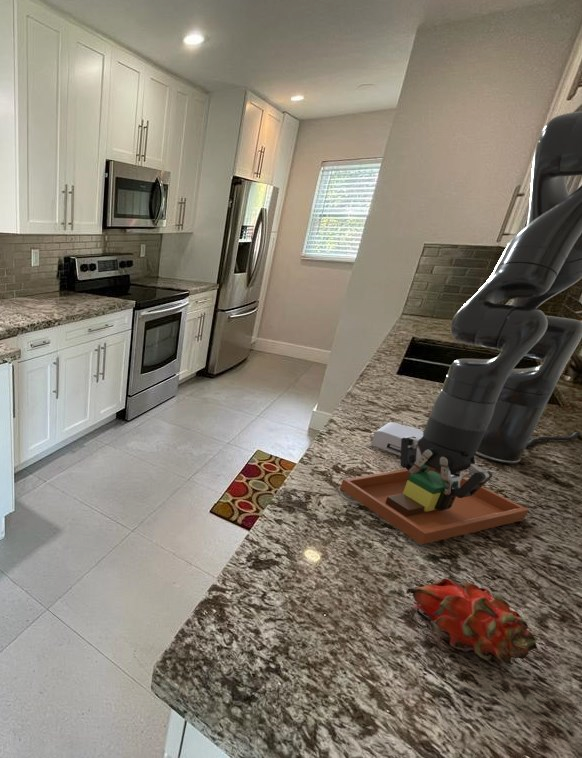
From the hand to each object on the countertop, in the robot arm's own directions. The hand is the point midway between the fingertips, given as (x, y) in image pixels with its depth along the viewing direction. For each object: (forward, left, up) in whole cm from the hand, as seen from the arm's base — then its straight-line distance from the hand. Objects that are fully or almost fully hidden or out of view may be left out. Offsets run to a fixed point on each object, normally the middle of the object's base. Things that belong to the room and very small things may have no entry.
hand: (425, 500), depth 77 cm
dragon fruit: (+24, +21, -2) cm, 32 cm away
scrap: (+5, 0, -1) cm, 5 cm away
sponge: (0, 0, 0) cm, 0 cm away
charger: (-20, -19, -2) cm, 28 cm away
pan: (-1, 0, -2) cm, 2 cm away
